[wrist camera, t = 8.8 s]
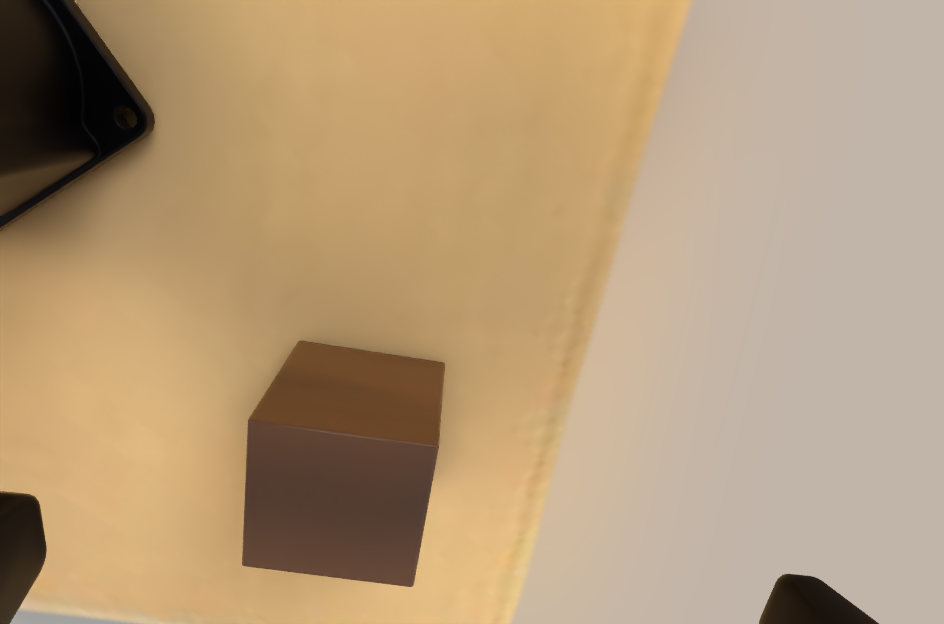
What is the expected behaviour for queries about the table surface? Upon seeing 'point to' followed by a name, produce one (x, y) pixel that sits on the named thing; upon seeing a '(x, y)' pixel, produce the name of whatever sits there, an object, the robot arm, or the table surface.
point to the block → (342, 464)
